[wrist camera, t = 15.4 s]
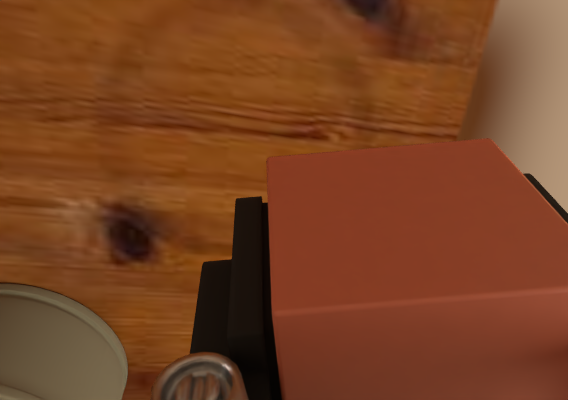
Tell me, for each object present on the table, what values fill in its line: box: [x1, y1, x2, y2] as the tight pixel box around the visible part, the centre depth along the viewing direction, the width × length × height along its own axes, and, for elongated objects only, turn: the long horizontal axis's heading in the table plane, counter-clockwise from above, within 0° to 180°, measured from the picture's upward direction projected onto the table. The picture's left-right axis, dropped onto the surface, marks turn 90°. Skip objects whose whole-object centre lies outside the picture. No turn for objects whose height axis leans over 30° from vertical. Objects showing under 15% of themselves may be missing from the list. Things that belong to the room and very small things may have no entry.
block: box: [266, 138, 568, 400], centre depth 10 cm, size 4×4×4 cm
